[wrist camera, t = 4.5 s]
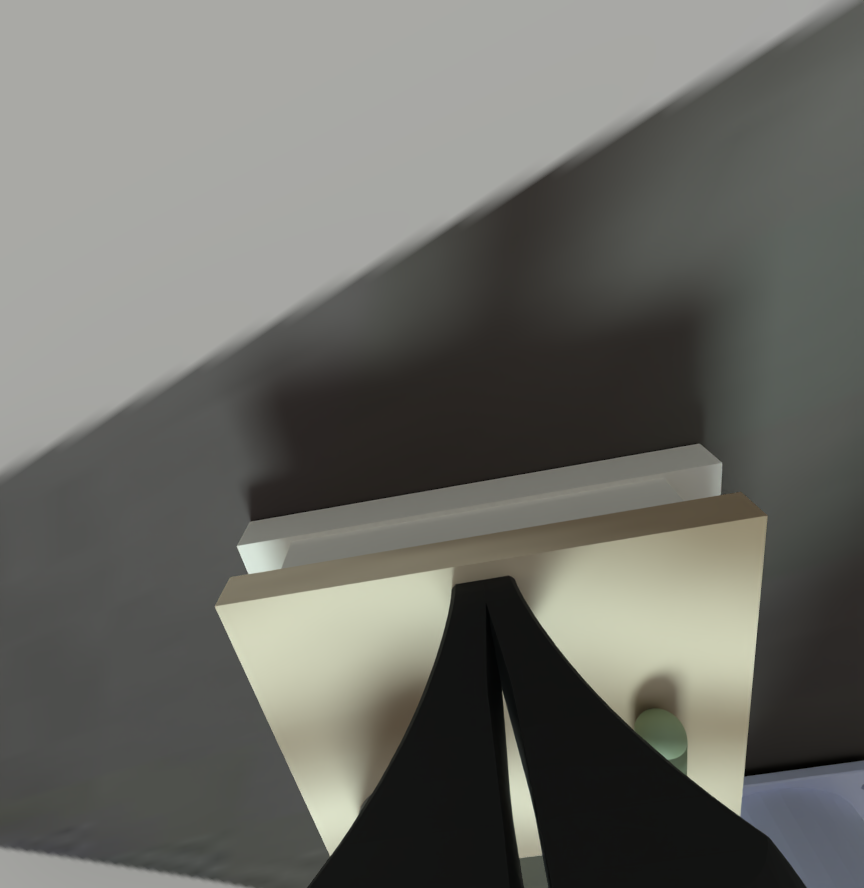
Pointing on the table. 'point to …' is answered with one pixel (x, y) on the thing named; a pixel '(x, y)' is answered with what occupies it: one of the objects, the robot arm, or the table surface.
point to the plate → (560, 614)
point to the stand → (482, 508)
